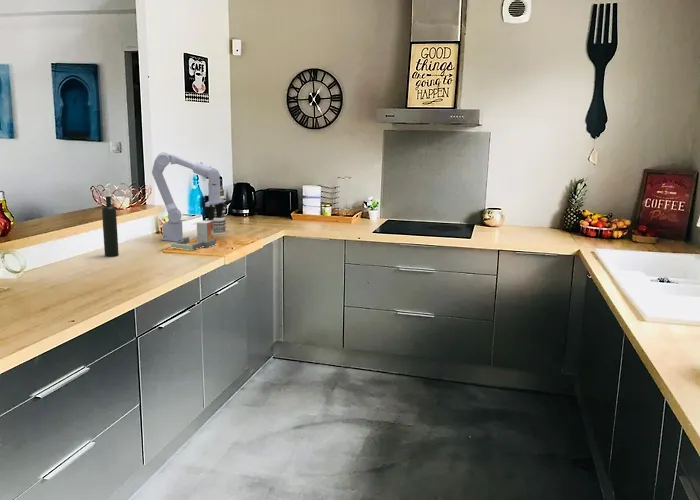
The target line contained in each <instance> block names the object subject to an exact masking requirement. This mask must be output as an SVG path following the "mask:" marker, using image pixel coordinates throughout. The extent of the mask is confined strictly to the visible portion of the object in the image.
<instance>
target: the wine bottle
mask: <svg viewBox="0 0 700 500" xmlns="http://www.w3.org/2000/svg"><path fill="white" fill-rule="evenodd" d="M104 191H105V206H103V207H102V209H101V213H102V214H101V217H102V218H101V219H102V220H101V221H102V233H103V248H104V249H103V250H104V257H106V258H116V257H119V255H120V254H119V252H120V251H119V239H118V238H119V237H118V236H119V235H118V223H117V209H116V207H114V206H113V205H112V199H111V197H112V195H111V188H109V187H108V188H107V187H106V188H104Z"/></svg>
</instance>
